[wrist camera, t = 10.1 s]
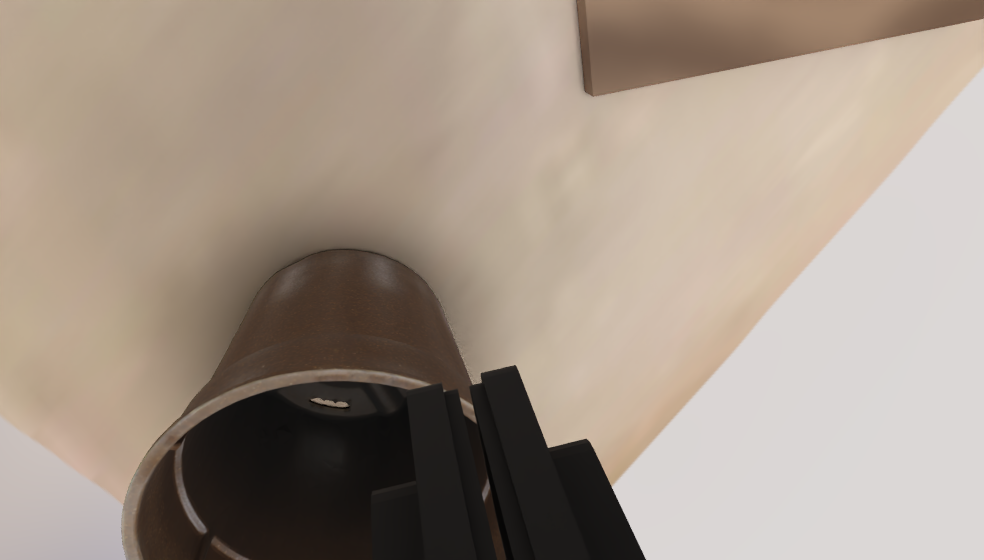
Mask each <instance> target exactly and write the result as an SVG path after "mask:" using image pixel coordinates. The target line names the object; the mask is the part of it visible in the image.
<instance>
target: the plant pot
mask: <svg viewBox="0 0 984 560" xmlns="http://www.w3.org/2000/svg"><path fill="white" fill-rule="evenodd" d="M441 382H442V385H443V389H444V392H445V391H449V390H454V389H458V392H459V396H460V400H461V405H462V409H463V413H464V418H465V422H466V426H467V431H468V435H469V439H470V444H471V448H472V452H473V457H474V461H475V465H476V470H477V474H478V478H479V483H480V487H481V491H482V496H483V500H484V504H485V509H486V513H487V517H488V522H489V526H490V530H491V535H492V539H493V543H494V548H495V552H496V556H497V560H506V556H505V552H504V548H503V544H502V540H501V536H500V532H499V527H498V523H497V519H496V514H495V509H494V504H493V500H492V495H491V490H490V485H489V480H488V475H487V471H486V466H485V461H484V456H483V451H482V447H481V442H480V437H479V432H478V427H477V423H476V418H475V413H474V408H473V403H472V399H471V394H470V389H469V386H471V385H472V383H471V380H470V378H469V375H468V373H467V370H466V368H465V365H464V362H463V360H462V358H461V355H460V353H459V350H458V348H457V345H456V343H455V340H454V338H453V335H452V333H451V330H450V328H449V325H448V323H447V320H446V318H445V315H444V312H443V310H442V307H441V305H440V303H439V301H438V300H437V298H436V296H435V295H434V293H433V292H432V290H431V289H430V288H429V286H428V285H427V283H426V282H425V281H424V280H423V279H422V278H420V277H419V276H418V275H417V274H416V273H415V272H413V271H412V270H410V269H409V268H408V267H406V266H404V265H402V264H400V263H398V262H396V261H394V260H392V259H389V258H387V257H384V256H381V255H378V254H374V253H370V252H364V251H356V250H333V251H324V252H320V253H317V254H313V255H310V256H308V257H306V258H304V259H303V260H301V261H299V262H297V263H295V264H293V265H290V266H289V267H287V268H285V269H283V270H280V271H278V272H277V273H275V274H274V275H273V276H272V277H271V278H270V279H269V280H268V281H267V282H266V283H265V284H264V286H263V287H262V288H261V289H260V291H259V292H258V293H257V295H256V296H255V298H254V300H253V302H252V304H251V306H250V308H249V310H248V312H247V314H246V316H245V318H244V320H243V322H242V324H241V325H240V327H239V329H238V331H237V333H236V335H235V336H234V338H233V340H232V342H231V344H230V346H229V348H228V350H227V352H226V353H225V355H224V357H223V359H222V361H221V363H220V364H219V366H218V368H217V370H216V371H215V373H214V375H213V377H212V378H211V380H210V382H209V383H208V384H206V385H205V386H204V387H203V388H202V389H201V391H200V392H199V393H198V394H197V395H196V396H195V397H194V399H193V400H192V401H191V402H190V404H189V405H188V407H187V408H186V410H185V411H184V413H183V414H182V416H181V417H180V418H179V419H177V420H176V421H175V422H174V423H173V424H172V425H171V426H170V427H169V428H168V429H167V430H166V431H165V432H164V433H163V434H162V435H161V436H160V437H159V438H158V439H157V440H156V442H155V443H154V444H153V446H152V447H151V448H150V450H149V451H148V452H147V454H146V455H145V457H144V458H143V460H142V462H141V463H140V465H139V467H138V469H137V471H136V473H135V474H134V476H133V478H132V481H131V483H130V486H129V488H128V491H127V495H126V498H125V502H124V506H123V512H122V542H123V547H124V552H125V556H126V559H127V560H373V559H372V524H371V494H372V491H376V490H380V489H384V488H388V487H392V486H396V485H400V484H404V483H408V482H412V481H416V474H415V465H414V457H413V448H412V439H411V430H410V422H409V413H408V404H407V395H406V391H407V390H411V389H415V388H420V387H424V386H428V385H432V384H437V383H441ZM313 398H321V399H322V400H330V401H333V402H334V403H337V402H339V401H340V402H346V403H347V404H348V405H350V407H349V408H347V409H338V408H330V407H325V406H321V405H318V404H314V403H312V402H310V401H309V399H313Z"/></svg>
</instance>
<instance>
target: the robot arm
mask: <svg viewBox="0 0 984 560" xmlns="http://www.w3.org/2000/svg"><path fill="white" fill-rule="evenodd" d="M481 379H482V383H479V384H475V385H471V386H469V389H470V394H471V399H472V403H473V408H474V413H475V418H476V423H477V427H478V432H479V437H480V442H481V447H482V451H483V456H484V461H485V466H486V471H487V475H488V480H489V485H490V490H491V495H492V500H493V504H494V509H495V514H496V519H497V523H498V527H499V532H500V536H501V540H502V544H503V548H504V552H505V556H506V560H646V559H645V557H644V555H643V553H642V550H641V549H640V546H639V544H638V542H637V540H636V538H635V536H634V533H633V532H632V529H631V527H630V525H629V523H628V521H627V519H626V517H625V514H624V512H623V510H622V508H621V506H620V504H619V502H618V500H617V498H616V495H615V494H614V491H613V489H612V487H611V485H610V483H609V481H608V478H607V476H606V474H605V472H604V470H603V468H602V466H601V464H600V461H599V459H598V457H597V455H596V453H595V451H594V449H593V447H592V445H591V443H590V442H589V441H588V440H587V439H583V440H579V441H575V442H571V443H567V444H563V445H559V446H555V447H551V448H548V447H547V445H546V442H545V439H544V437H543V434H542V431H541V429H540V426H539V424H538V421H537V418H536V416H535V413H534V411H533V408H532V405H531V403H530V400H529V397H528V395H527V392H526V390H525V387H524V384H523V382H522V379H521V377H520V374H519V371H518V369H517V367H516V365H514V366H510V367H505V368H501V369H497V370H492V371H488V372H484V373H481ZM406 395H407V404H408V413H409V422H410V430H411V439H412V448H413V457H414V465H415V474H416V481H412V482H408V483H404V484H400V485H396V486H392V487H388V488H384V489H380V490H376V491H372V494H371V524H372V559H373V560H497V556H496V552H495V548H494V543H493V539H492V535H491V530H490V526H489V522H488V517H487V513H486V509H485V504H484V500H483V496H482V491H481V487H480V483H479V478H478V474H477V470H476V465H475V461H474V457H473V452H472V448H471V444H470V439H469V435H468V431H467V426H466V422H465V418H464V413H463V409H462V405H461V400H460V396H459V392H458V389H454V390H449V391H445V392H444V389H443V385H442V382H441V383H437V384H432V385H428V386H424V387H420V388H415V389H411V390H407V391H406Z"/></svg>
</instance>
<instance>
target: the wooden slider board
mask: <svg viewBox="0 0 984 560" xmlns="http://www.w3.org/2000/svg"><path fill="white" fill-rule="evenodd" d="M577 8H578V19H579V31H580V42H581V53H582V64H583V76H584V87H585V92H587V93H588V94H590V95H591V96H593V97H594V96H599V95H604V94H609V93H614V92H619V91H624V90H629V89H634V88H639V87H644V86H649V85H654V84H659V83H664V82H669V81H674V80H679V79H684V78H689V77H694V76H699V75H704V74H709V73H714V72H719V71H724V70H729V69H734V68H739V67H744V66H749V65H754V64H759V63H764V62H769V61H774V60H779V59H784V58H789V57H794V56H799V55H804V54H809V53H814V52H819V51H824V50H829V49H834V48H840V47H845V46H850V45H855V44H860V43H865V42H870V41H875V40H880V39H885V38H890V37H895V36H900V35H905V34H910V33H915V32H920V31H925V30H930V29H935V28H940V27H945V26H950V25H955V24H960V23H965V22H970V21H975V20H980V19H984V0H577Z"/></svg>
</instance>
